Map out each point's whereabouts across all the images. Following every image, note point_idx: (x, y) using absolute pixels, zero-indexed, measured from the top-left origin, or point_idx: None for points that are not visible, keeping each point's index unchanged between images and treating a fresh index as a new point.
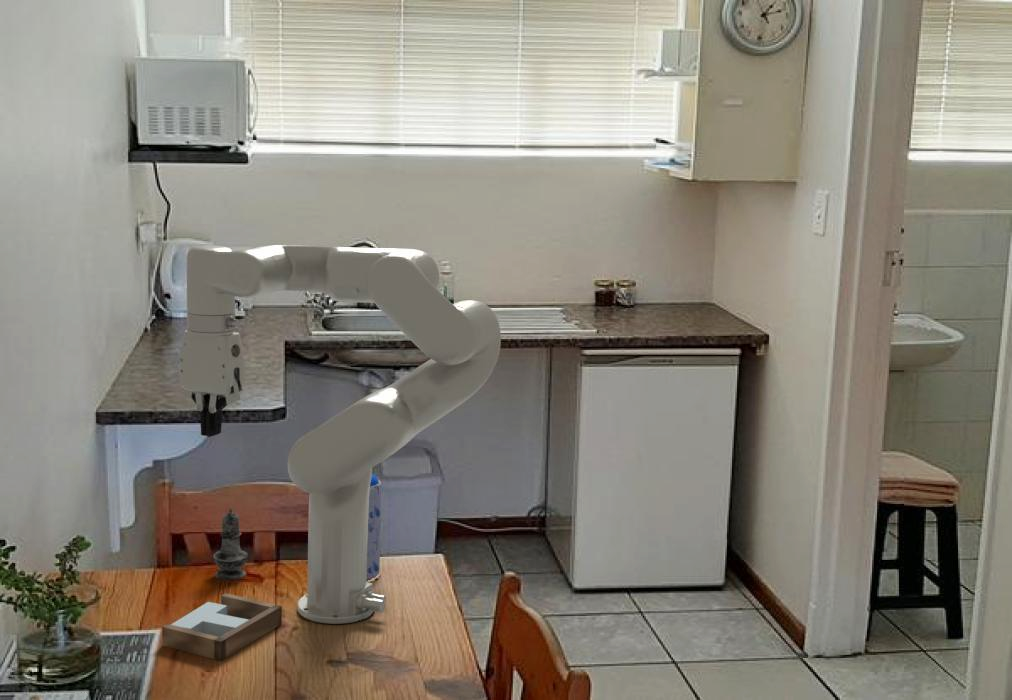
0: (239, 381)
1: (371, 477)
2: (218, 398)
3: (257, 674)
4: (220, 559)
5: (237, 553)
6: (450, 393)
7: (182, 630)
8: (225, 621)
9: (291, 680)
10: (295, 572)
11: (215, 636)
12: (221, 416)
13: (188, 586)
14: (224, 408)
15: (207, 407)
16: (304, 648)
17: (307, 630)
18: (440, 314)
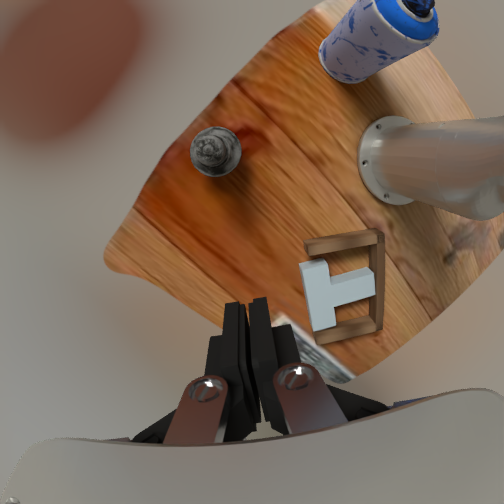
0: (481, 443)
1: (433, 10)
2: (290, 431)
3: (410, 314)
4: (219, 175)
5: (231, 151)
6: None
7: (338, 338)
8: (353, 292)
9: (434, 303)
10: (279, 91)
11: (372, 326)
12: (298, 355)
13: (208, 216)
14: (314, 369)
15: (249, 425)
16: (419, 255)
17: (402, 222)
18: None
